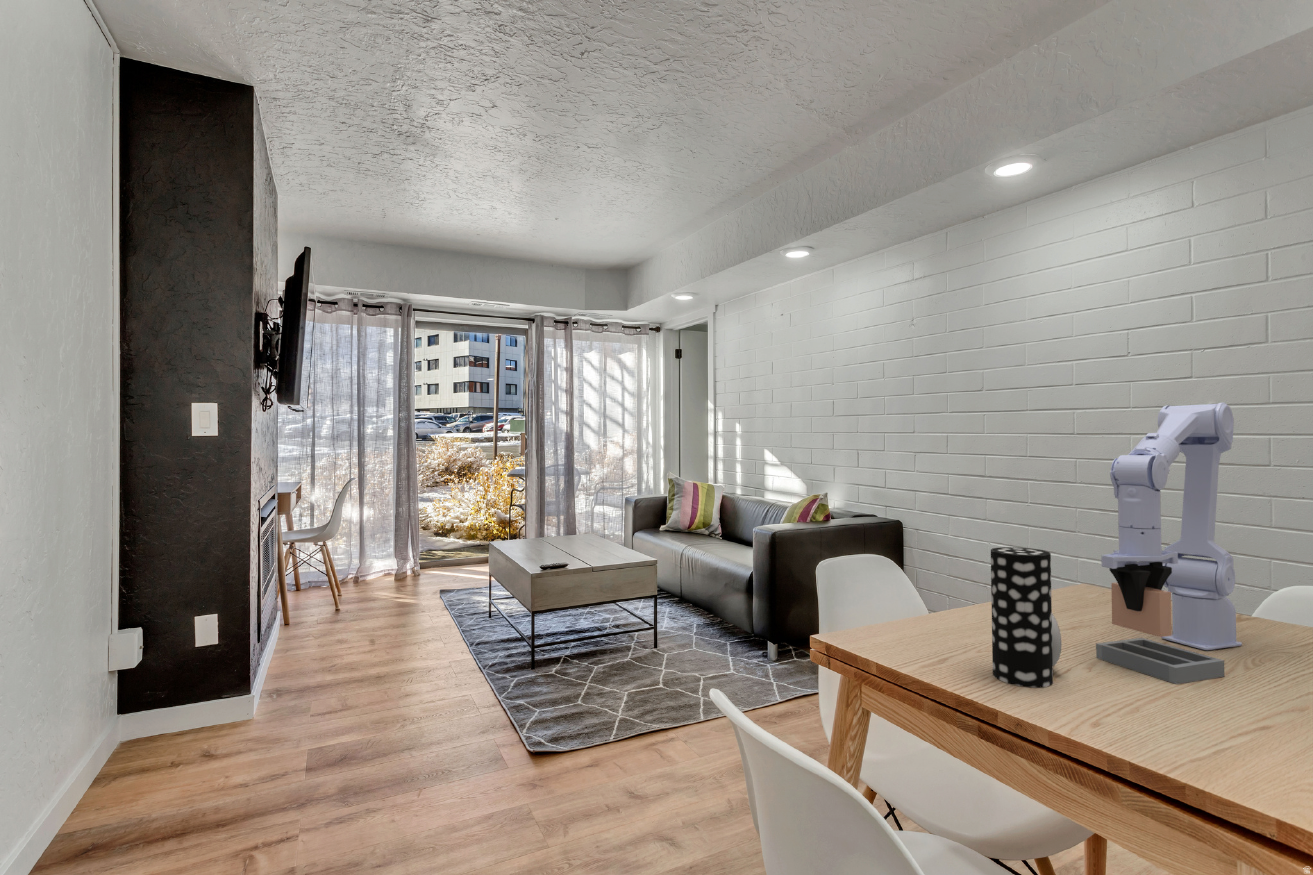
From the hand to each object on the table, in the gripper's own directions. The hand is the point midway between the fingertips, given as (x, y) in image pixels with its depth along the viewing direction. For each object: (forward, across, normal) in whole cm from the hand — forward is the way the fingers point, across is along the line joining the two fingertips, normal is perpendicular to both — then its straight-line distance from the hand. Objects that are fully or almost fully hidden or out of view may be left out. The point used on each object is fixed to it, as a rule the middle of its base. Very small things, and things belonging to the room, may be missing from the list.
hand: (1140, 609), depth 108 cm
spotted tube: (+10, +23, -2) cm, 25 cm away
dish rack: (+9, -2, +1) cm, 10 cm away
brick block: (+3, 0, 0) cm, 3 cm away
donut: (+10, +16, -5) cm, 19 cm away
